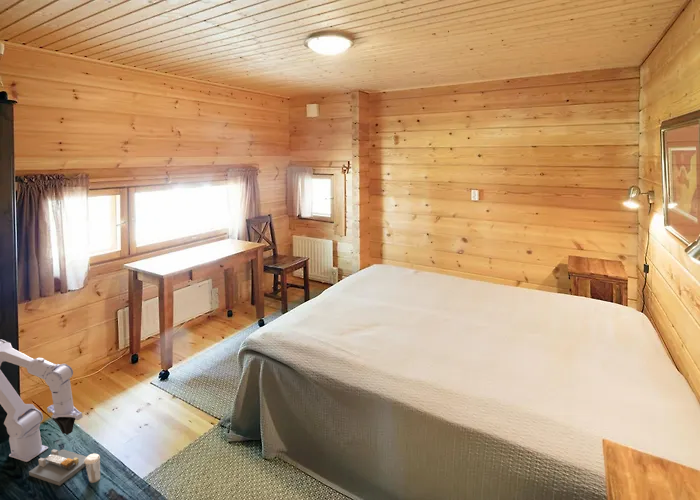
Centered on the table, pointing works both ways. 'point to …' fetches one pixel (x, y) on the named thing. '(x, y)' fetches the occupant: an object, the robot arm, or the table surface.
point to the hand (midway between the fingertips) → (67, 432)
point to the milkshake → (93, 467)
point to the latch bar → (59, 460)
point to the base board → (58, 468)
